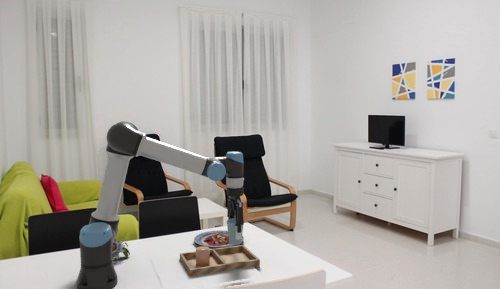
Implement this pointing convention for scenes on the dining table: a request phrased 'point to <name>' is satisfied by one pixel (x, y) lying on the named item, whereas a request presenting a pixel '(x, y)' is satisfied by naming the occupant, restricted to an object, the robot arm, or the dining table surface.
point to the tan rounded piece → (202, 256)
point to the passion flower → (119, 249)
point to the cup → (232, 232)
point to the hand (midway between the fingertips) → (235, 236)
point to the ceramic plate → (213, 239)
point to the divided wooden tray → (221, 260)
